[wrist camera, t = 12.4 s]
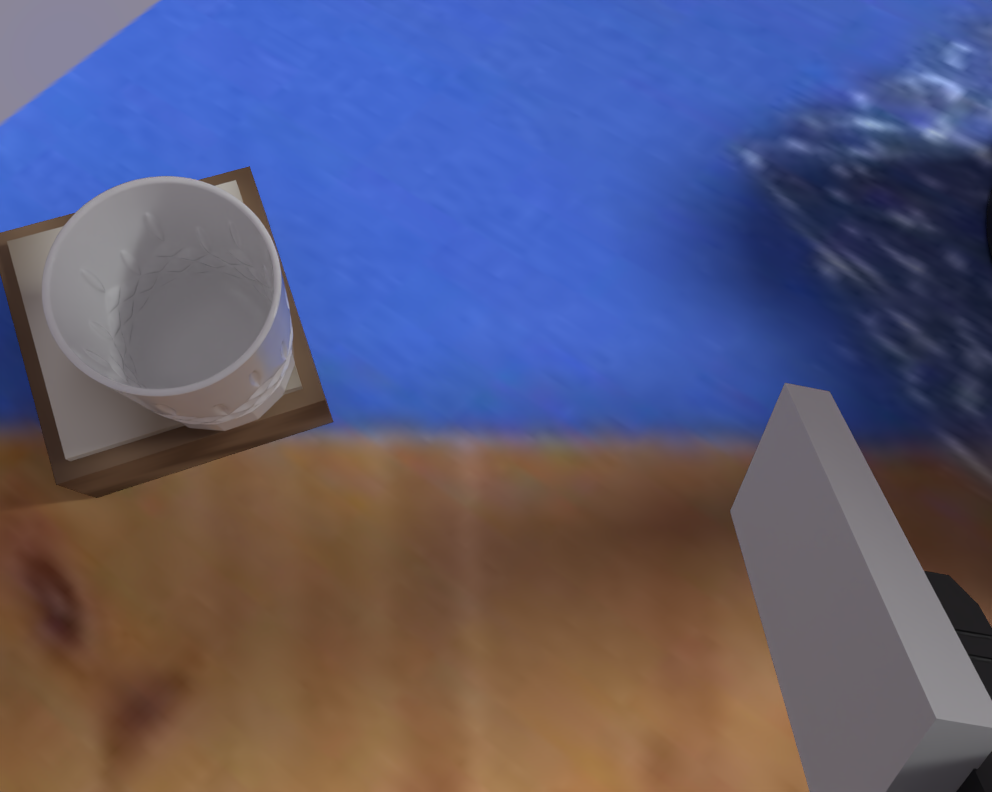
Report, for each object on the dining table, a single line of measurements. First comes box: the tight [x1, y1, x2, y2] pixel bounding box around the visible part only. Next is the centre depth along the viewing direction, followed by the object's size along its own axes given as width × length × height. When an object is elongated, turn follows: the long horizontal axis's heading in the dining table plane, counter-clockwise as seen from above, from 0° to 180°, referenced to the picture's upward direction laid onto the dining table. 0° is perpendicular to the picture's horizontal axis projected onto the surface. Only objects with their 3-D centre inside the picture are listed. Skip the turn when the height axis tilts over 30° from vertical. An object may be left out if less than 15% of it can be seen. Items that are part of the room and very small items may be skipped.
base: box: [0, 166, 333, 498], centre depth 43 cm, size 12×12×6 cm
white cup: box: [42, 176, 295, 431], centre depth 36 cm, size 8×8×10 cm
